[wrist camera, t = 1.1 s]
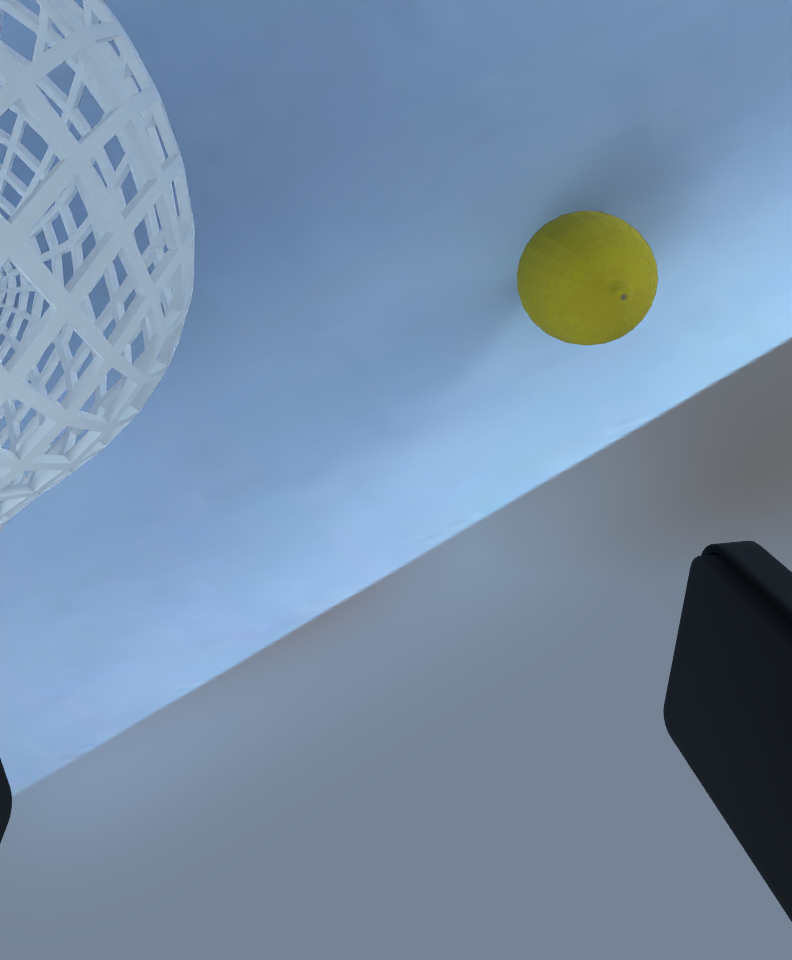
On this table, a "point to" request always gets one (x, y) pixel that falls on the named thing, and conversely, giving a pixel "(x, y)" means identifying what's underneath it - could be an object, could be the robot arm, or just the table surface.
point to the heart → (113, 235)
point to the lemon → (587, 278)
